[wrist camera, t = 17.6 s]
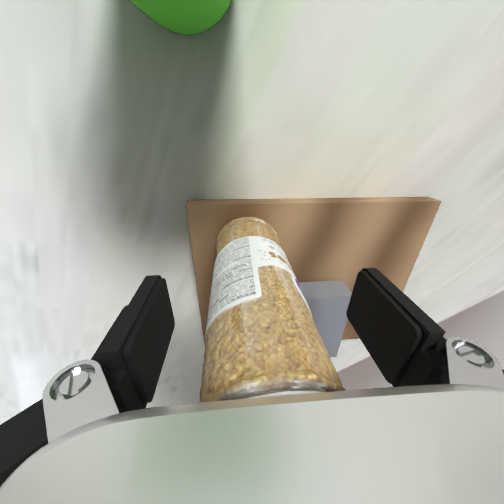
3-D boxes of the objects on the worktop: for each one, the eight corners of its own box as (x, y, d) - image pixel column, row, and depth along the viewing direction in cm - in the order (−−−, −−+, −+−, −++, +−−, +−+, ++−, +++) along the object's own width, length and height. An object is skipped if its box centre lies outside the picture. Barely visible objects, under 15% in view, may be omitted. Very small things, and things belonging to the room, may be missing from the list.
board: (428, 196, 17) (441, 201, 16) (376, 327, 23) (383, 336, 22) (188, 200, 15) (185, 204, 14) (206, 339, 22) (205, 349, 21)
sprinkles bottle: (288, 250, 16) (444, 553, 4) (238, 280, 17) (258, 598, 5) (256, 200, 14) (384, 510, 2) (201, 237, 15) (102, 594, 3)
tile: (354, 295, 16) (248, 301, 16) (336, 356, 20) (247, 363, 19) (341, 279, 18) (245, 283, 17) (326, 337, 21) (246, 342, 21)
